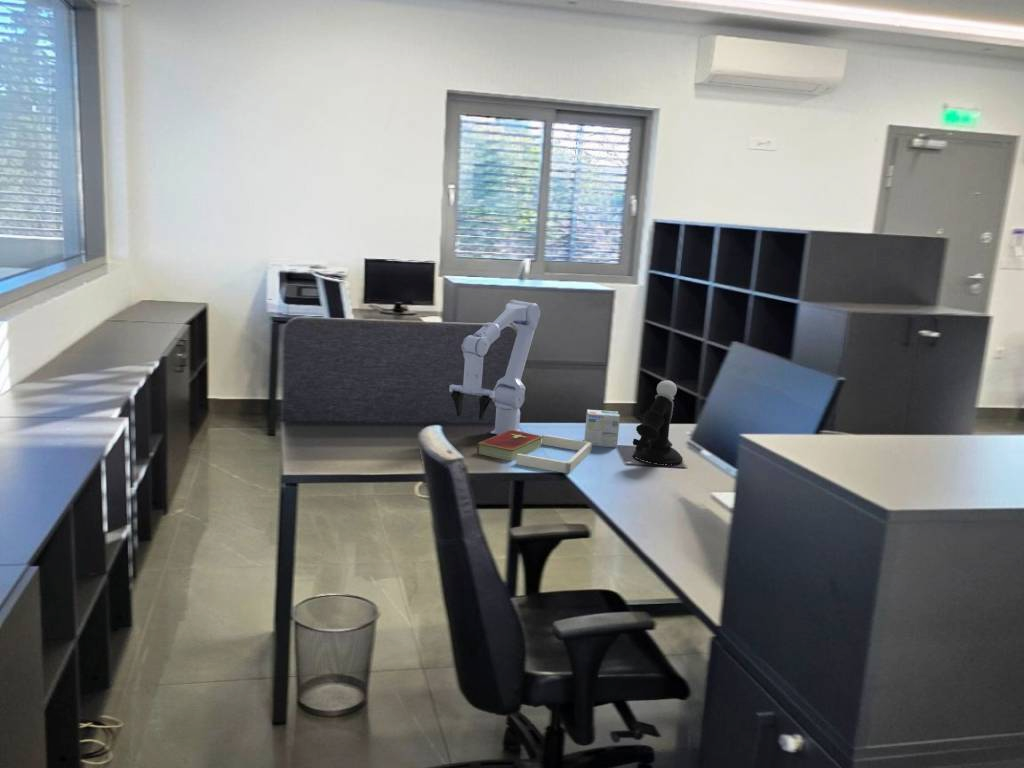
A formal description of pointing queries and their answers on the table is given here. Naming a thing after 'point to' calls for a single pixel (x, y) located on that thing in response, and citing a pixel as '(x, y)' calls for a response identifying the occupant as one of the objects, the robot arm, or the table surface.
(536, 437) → the hardcover book
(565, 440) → the document bay
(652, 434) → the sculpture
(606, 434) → the light bulb box
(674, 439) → the table surface
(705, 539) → the table surface
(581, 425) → the table surface
